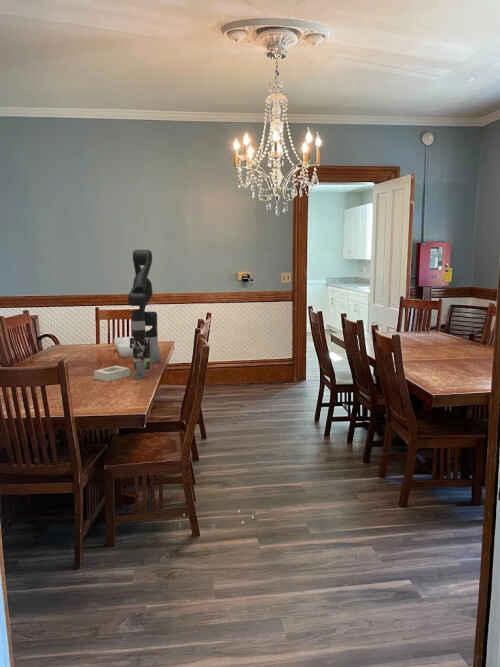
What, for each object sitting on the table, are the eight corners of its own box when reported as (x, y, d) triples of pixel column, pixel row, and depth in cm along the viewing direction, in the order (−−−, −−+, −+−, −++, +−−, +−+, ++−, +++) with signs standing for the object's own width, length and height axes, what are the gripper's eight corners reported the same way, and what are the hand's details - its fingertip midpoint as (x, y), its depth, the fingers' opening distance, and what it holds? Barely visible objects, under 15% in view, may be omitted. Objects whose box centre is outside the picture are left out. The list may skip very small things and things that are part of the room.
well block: (117, 373, 305) (116, 365, 304) (130, 375, 297) (129, 368, 297) (94, 378, 292) (93, 370, 292) (107, 381, 285) (106, 373, 284)
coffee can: (151, 371, 308) (150, 348, 306) (134, 372, 306) (132, 349, 303) (150, 367, 318) (149, 345, 316) (133, 368, 315) (132, 346, 313)
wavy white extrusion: (141, 357, 348) (141, 342, 347) (116, 359, 343) (116, 343, 341) (136, 348, 381) (135, 334, 379) (113, 349, 376) (112, 335, 374)
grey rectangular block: (140, 376, 297) (139, 360, 295) (144, 377, 294) (144, 361, 293) (131, 378, 292) (130, 362, 290) (136, 379, 289) (135, 363, 288)
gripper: (152, 328, 289) (153, 357, 291) (135, 326, 297) (136, 354, 300) (141, 330, 283) (143, 359, 285) (125, 328, 292) (126, 356, 294)
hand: (139, 356), depth 293 cm, fingers open, 8 cm apart
